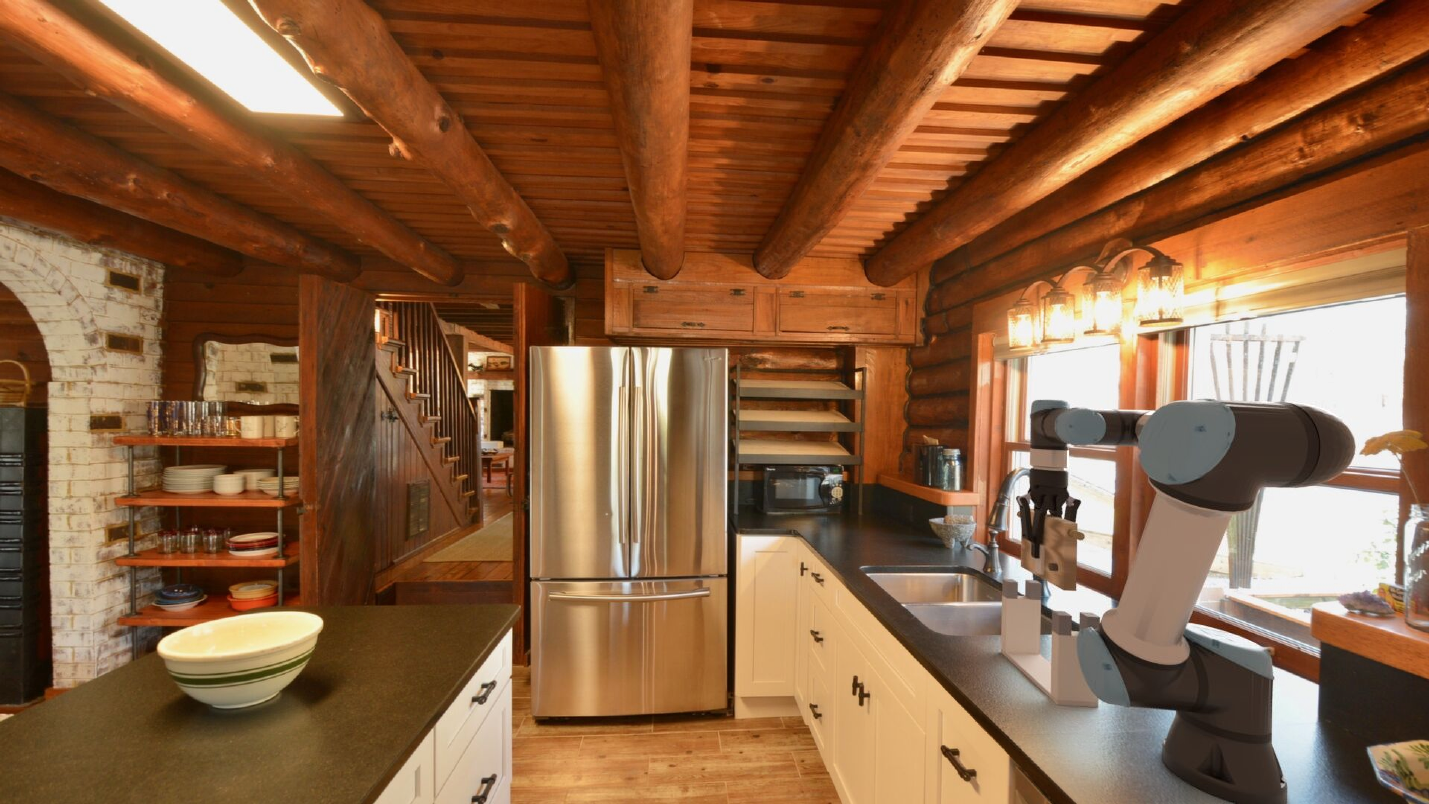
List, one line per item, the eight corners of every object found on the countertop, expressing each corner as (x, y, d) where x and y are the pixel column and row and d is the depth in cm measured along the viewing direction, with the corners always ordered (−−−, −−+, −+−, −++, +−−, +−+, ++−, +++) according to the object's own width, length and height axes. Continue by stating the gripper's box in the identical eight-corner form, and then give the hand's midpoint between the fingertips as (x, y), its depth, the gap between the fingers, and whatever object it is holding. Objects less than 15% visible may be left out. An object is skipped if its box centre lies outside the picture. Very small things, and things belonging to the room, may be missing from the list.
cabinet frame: (1098, 707, 111) (1100, 617, 112) (1057, 704, 112) (1059, 615, 112) (1034, 653, 136) (1035, 580, 136) (1000, 652, 136) (1002, 578, 137)
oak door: (1086, 596, 112) (1087, 526, 112) (1067, 595, 112) (1068, 526, 112) (1024, 563, 137) (1025, 506, 137) (1009, 562, 137) (1010, 505, 137)
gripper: (1074, 467, 128) (1072, 570, 128) (1005, 465, 129) (1003, 567, 128) (1095, 471, 121) (1093, 579, 120) (1021, 468, 121) (1019, 576, 121)
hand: (1046, 573), depth 124 cm, fingers closed on oak door, 2 cm apart
